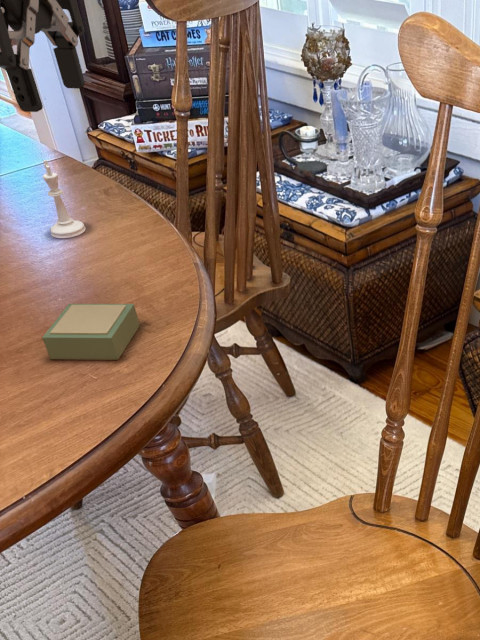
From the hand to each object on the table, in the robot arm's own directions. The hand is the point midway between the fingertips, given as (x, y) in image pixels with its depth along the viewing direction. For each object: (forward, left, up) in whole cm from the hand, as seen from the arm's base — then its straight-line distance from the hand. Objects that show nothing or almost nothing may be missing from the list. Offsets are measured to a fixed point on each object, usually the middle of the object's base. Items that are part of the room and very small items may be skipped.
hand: (54, 98), depth 82 cm
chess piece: (-16, +23, -24) cm, 37 cm away
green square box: (0, -9, -24) cm, 25 cm away
